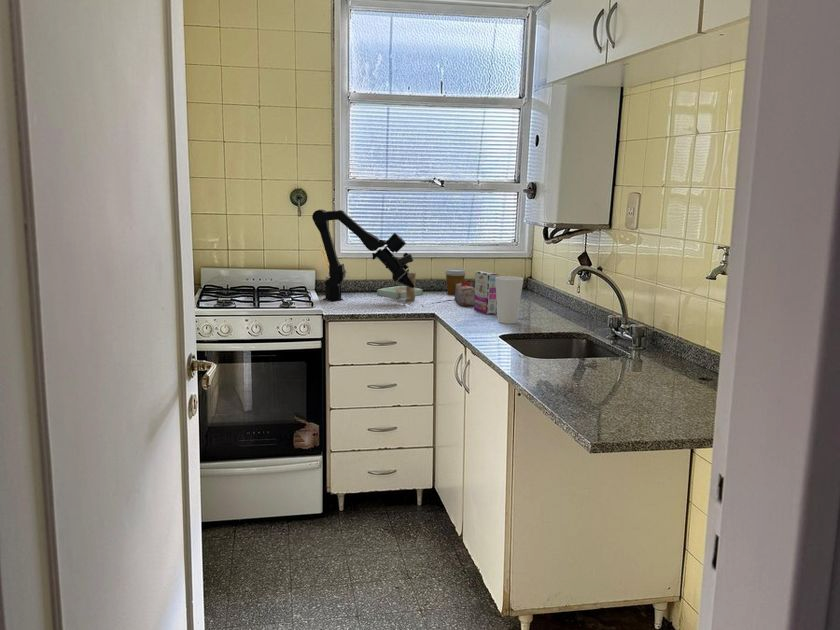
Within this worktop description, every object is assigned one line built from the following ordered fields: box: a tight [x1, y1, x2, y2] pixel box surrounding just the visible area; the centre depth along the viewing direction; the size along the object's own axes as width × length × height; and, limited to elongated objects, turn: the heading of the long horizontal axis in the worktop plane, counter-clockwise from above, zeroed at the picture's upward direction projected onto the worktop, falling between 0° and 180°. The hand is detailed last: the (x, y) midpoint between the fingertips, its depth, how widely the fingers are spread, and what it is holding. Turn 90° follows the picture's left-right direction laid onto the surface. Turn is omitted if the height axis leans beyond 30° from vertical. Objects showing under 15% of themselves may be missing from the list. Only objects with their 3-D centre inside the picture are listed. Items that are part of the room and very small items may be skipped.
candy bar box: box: [473, 270, 499, 315], centre depth 312 cm, size 11×5×16 cm, turn 25°
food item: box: [454, 281, 475, 307], centre depth 330 cm, size 14×8×10 cm, turn 14°
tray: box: [376, 285, 424, 299], centre depth 345 cm, size 16×13×4 cm
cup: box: [495, 275, 525, 325], centre depth 292 cm, size 11×10×17 cm
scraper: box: [405, 271, 416, 302], centre depth 330 cm, size 4×7×13 cm, turn 177°
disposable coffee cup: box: [444, 268, 467, 296], centre depth 350 cm, size 10×10×12 cm
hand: (414, 286), depth 329 cm, fingers closed on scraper, 4 cm apart
